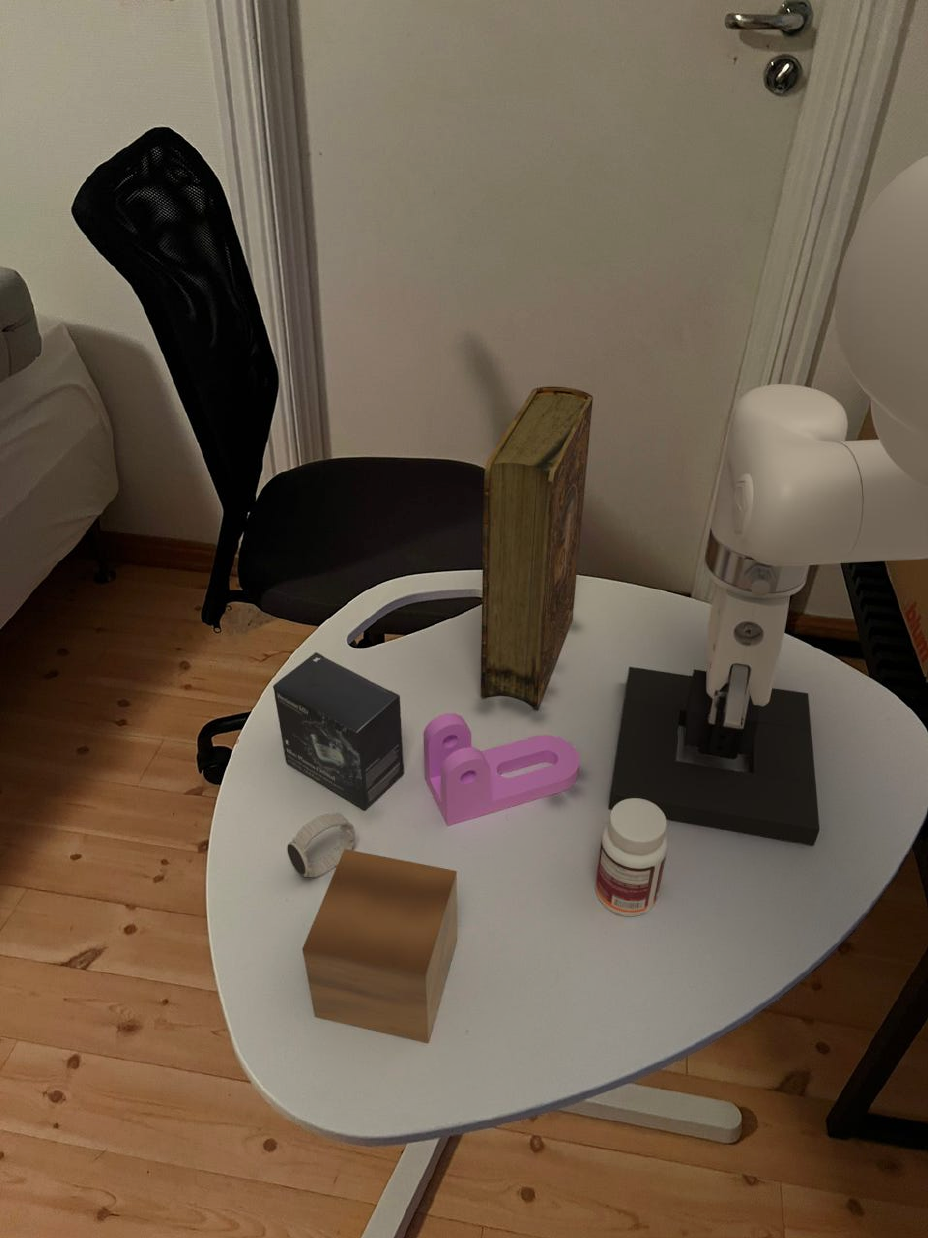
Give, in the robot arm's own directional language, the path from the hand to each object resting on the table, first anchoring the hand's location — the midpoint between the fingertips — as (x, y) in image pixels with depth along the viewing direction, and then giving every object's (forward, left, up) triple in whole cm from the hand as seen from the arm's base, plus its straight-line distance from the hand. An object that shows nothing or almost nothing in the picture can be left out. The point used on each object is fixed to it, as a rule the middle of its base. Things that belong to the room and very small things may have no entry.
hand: (717, 727), depth 80 cm
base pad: (0, 0, -3) cm, 3 cm away
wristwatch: (-19, +29, -4) cm, 35 cm away
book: (+10, +18, -4) cm, 21 cm away
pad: (0, 0, 0) cm, 0 cm away
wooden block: (-27, +21, -3) cm, 35 cm away
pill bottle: (-16, +6, -4) cm, 18 cm away
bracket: (-7, +17, -4) cm, 19 cm away
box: (-9, +31, -4) cm, 33 cm away
